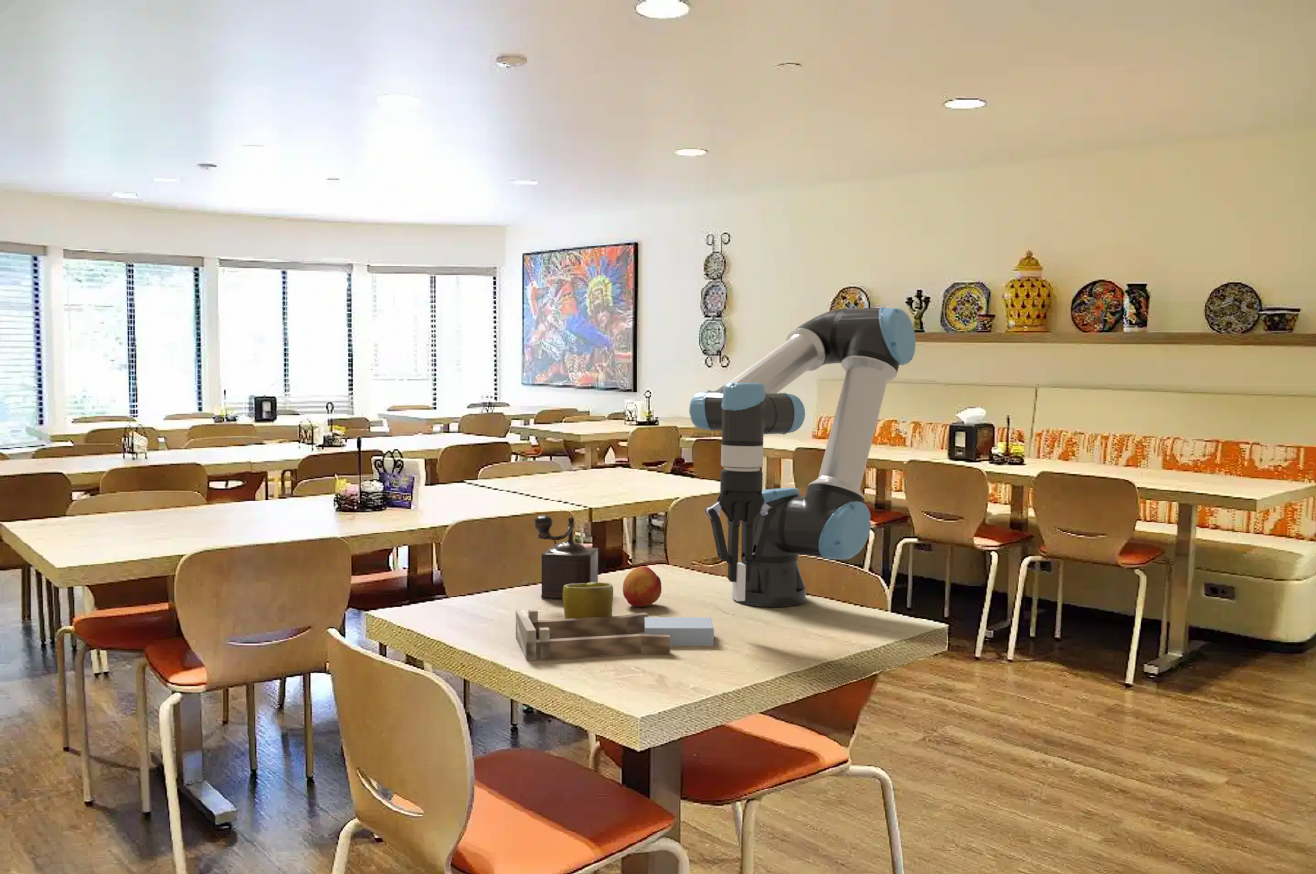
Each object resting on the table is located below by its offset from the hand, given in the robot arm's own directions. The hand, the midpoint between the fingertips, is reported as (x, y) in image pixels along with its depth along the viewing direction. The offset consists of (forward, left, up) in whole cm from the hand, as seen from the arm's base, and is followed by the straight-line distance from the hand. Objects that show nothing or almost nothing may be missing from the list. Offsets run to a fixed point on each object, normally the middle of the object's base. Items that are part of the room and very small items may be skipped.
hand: (738, 599), depth 197 cm
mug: (+24, -14, -7) cm, 29 cm away
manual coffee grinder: (+25, -39, -7) cm, 47 cm away
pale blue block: (+11, 0, -7) cm, 13 cm away
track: (+27, 0, -7) cm, 28 cm away
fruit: (+11, -27, -7) cm, 30 cm away
